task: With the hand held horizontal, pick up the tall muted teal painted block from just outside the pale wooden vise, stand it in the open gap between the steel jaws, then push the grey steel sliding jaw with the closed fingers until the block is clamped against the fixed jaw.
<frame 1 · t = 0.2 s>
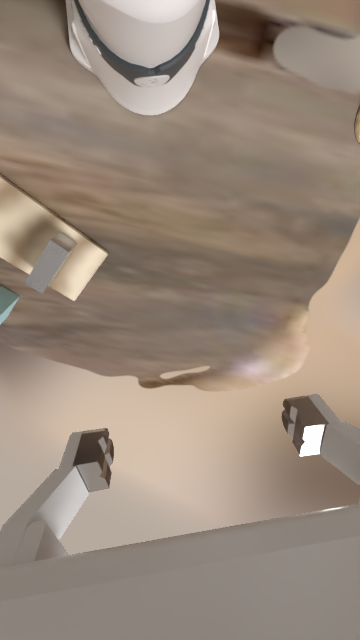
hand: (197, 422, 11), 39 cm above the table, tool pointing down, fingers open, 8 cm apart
vise base: (34, 239, 43), on the table
teal block: (0, 300, 48), on the table
sliding jaw: (51, 262, 42), point 4 cm above the table, slide at 0.0 cm
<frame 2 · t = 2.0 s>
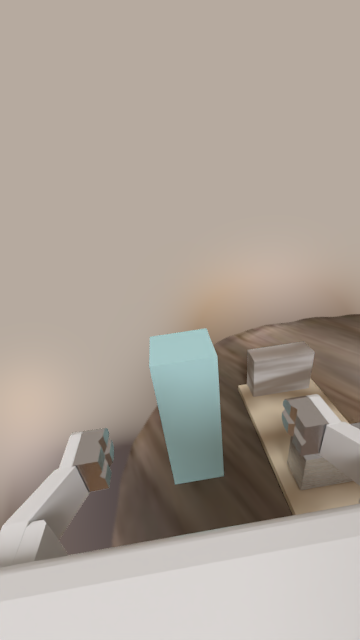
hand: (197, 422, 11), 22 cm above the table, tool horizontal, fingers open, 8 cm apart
vise base: (308, 441, 33), on the table
teal block: (196, 460, 32), on the table
sliding jaw: (336, 455, 27), point 4 cm above the table, slide at 0.0 cm
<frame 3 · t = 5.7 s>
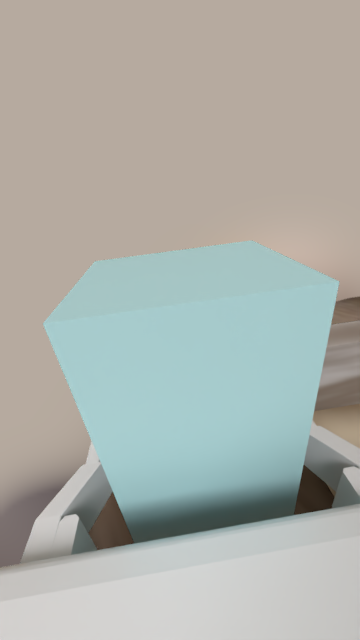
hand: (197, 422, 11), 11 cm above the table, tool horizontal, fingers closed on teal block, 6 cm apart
teal block: (212, 550, 15), on the table, touching gripper
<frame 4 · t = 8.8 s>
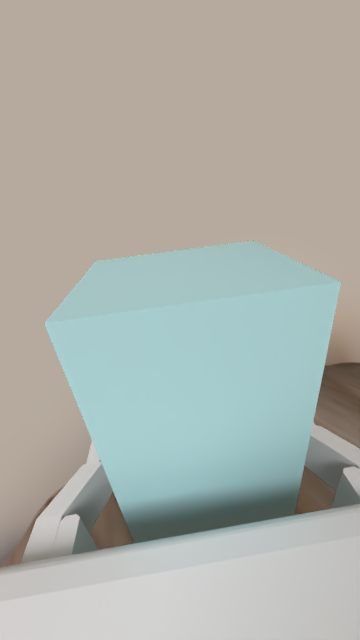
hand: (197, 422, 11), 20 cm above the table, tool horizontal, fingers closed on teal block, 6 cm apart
teal block: (212, 550, 15), point 9 cm above the table, touching gripper
when the fingers open (12 cm above the table, at t = 11.4 s): teal block stays where it is, resting on vise base.
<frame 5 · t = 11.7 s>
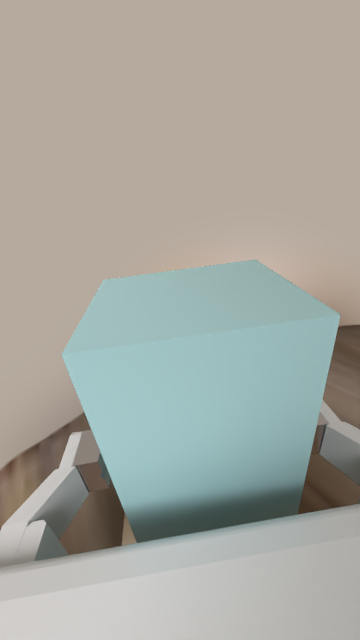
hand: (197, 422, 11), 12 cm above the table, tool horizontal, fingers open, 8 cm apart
teal block: (214, 556, 16), point 1 cm above the table, touching vise base
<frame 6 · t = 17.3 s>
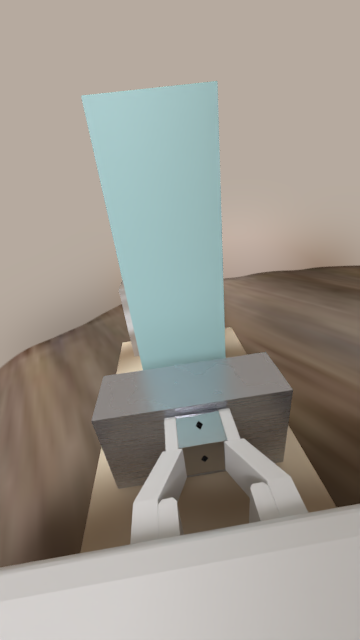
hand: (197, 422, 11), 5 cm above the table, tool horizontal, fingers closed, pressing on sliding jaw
vise base: (192, 423, 18), on the table
teal block: (184, 373, 21), point 1 cm above the table, touching vise base
sliding jaw: (193, 418, 13), point 4 cm above the table, slide at 1.5 cm, touching gripper
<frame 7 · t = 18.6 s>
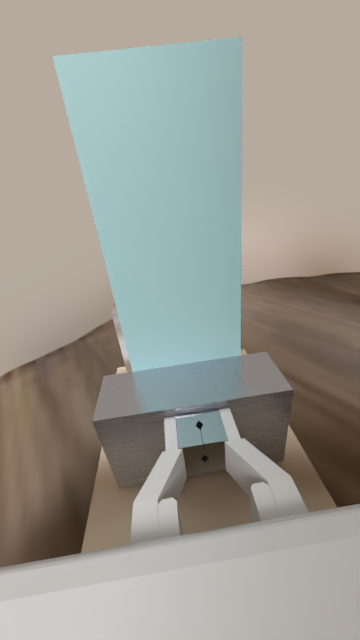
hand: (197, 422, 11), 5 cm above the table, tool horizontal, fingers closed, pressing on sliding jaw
vise base: (203, 488, 14), on the table
teal block: (190, 402, 18), point 1 cm above the table, touching sliding jaw, vise base
sliding jaw: (194, 418, 13), point 4 cm above the table, slide at 6.0 cm, touching gripper, teal block
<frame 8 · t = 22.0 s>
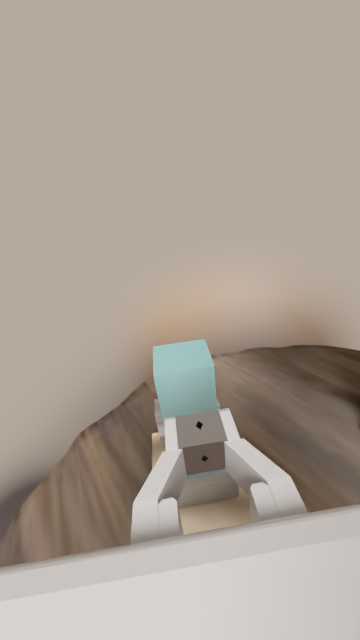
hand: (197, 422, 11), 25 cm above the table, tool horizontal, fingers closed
vise base: (202, 508, 30), on the table
teal block: (195, 460, 35), point 1 cm above the table, touching sliding jaw, vise base
sliding jaw: (198, 477, 30), point 4 cm above the table, slide at 6.0 cm, touching teal block
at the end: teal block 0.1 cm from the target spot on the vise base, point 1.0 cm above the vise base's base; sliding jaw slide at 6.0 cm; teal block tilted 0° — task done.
